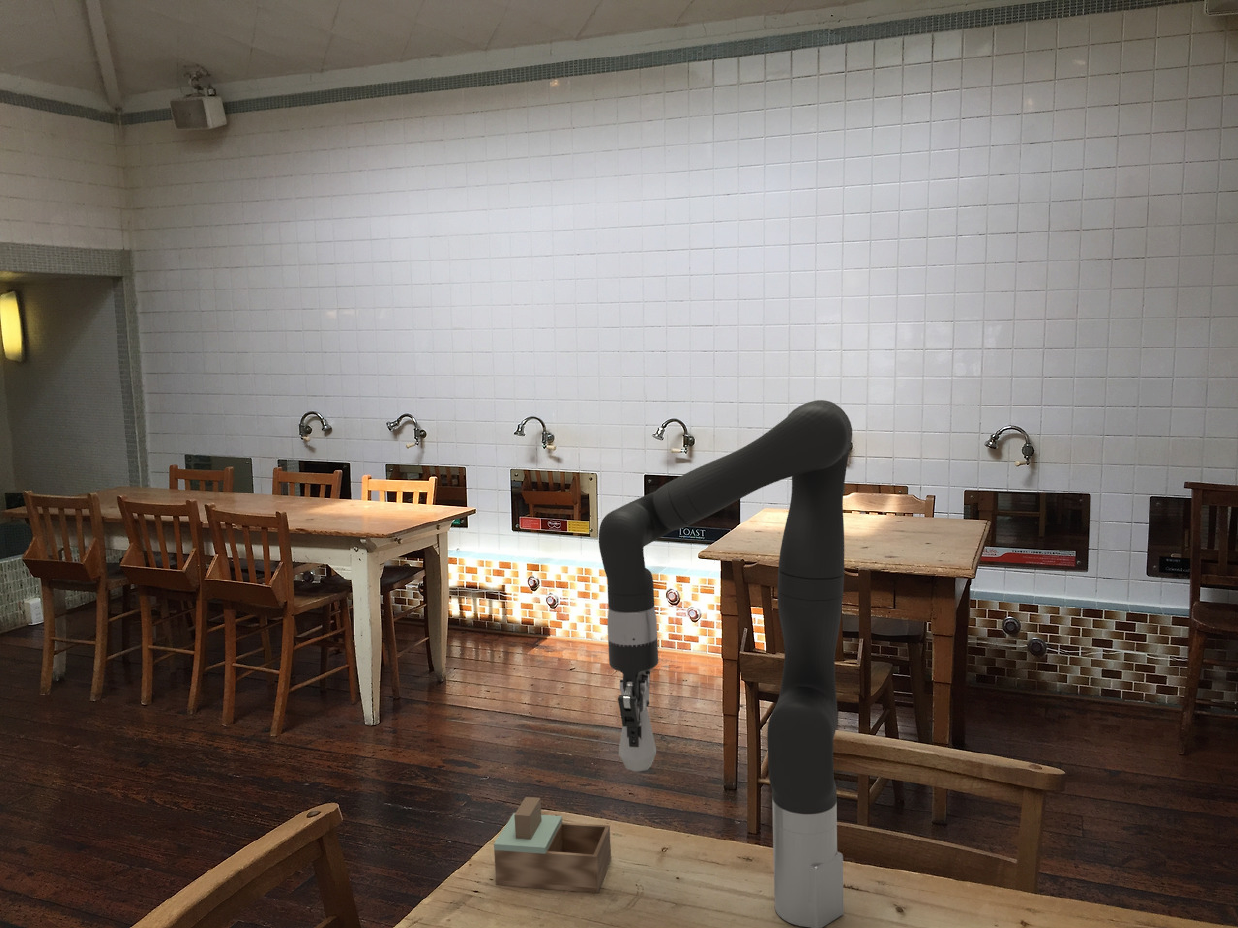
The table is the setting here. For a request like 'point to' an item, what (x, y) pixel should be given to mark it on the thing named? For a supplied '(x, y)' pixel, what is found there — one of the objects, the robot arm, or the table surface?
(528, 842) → the lid
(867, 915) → the table surface
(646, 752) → the salt shaker
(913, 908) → the table surface
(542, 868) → the box
